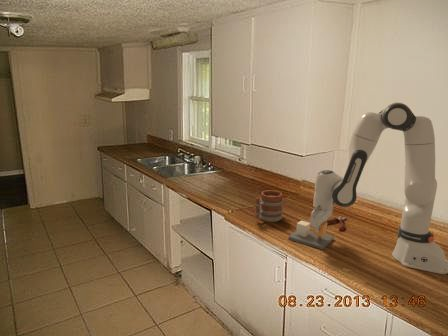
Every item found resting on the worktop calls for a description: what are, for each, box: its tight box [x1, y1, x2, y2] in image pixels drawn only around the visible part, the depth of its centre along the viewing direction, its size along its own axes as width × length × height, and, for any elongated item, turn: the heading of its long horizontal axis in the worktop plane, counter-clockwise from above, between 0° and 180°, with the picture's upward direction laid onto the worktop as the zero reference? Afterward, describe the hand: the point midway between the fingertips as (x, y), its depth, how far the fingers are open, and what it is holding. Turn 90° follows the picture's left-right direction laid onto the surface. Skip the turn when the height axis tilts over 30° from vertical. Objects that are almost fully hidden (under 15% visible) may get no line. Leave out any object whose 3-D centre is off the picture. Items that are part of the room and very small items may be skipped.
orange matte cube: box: [312, 222, 328, 237], centre depth 165 cm, size 5×5×6 cm
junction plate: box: [287, 220, 334, 250], centre depth 168 cm, size 18×14×8 cm
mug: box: [254, 189, 284, 223], centre depth 193 cm, size 14×19×15 cm
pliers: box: [326, 215, 347, 232], centre depth 189 cm, size 12×20×3 cm, turn 142°
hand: (320, 229), depth 165 cm, fingers closed on orange matte cube, 5 cm apart
